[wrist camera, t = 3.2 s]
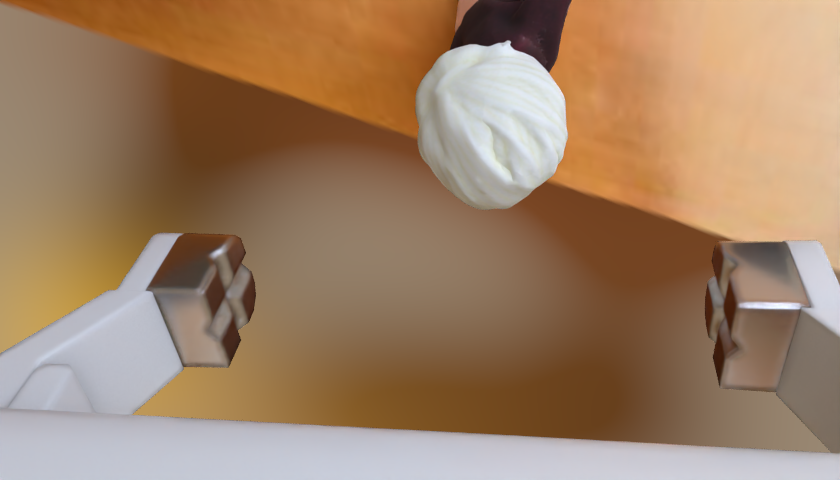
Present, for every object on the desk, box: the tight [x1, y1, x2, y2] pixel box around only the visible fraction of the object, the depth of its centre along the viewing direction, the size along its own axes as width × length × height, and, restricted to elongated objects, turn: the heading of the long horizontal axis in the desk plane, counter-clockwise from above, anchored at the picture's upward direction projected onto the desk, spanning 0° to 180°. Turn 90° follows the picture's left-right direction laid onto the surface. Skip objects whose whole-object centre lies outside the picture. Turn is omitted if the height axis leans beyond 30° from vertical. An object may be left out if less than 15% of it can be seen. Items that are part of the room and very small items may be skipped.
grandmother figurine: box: [415, 0, 572, 210], centre depth 20 cm, size 8×4×13 cm, turn 159°
